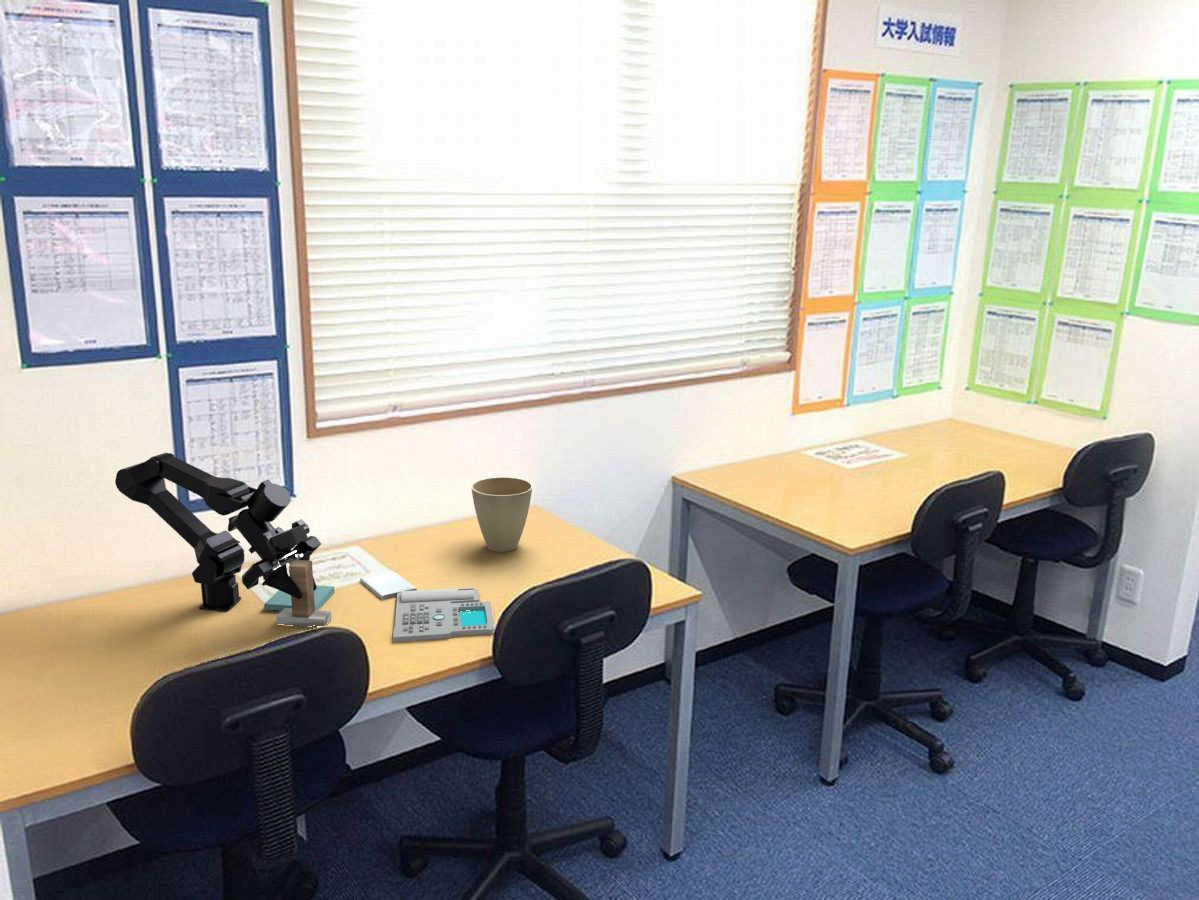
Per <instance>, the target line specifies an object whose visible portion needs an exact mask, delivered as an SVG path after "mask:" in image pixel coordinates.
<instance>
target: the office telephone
mask: <svg viewBox="0 0 1199 900" xmlns="http://www.w3.org/2000/svg"><path fill="white" fill-rule="evenodd" d="M479 590H480V589H478V588H477V589H476V588H474V587H463V588H442V589H441V588H440V589H420V590H419V589H417V590H416V591H402V592H399V593H397V597H396V606H395V607H396V608H395V617H394V618H395V619H394V628H393V633H392V634H393V635H392V641H393V643H401V642H402V643H403V642H415V641H417V642H418V641H419V642H420V641H430V640H431V641H432V640H442V639H443V640H444V639H446V640H447V639H450V638H452V637H459V636H460V637H461V636H476V635H477V636H478V635H494V634H493V631H494V632H495V625H494V624H495V623H494V616H493V609H492V607H493V606H492V603H491V601H489V600H486V601H485V600H484V601H480V591H479ZM466 610H470V611H466ZM458 611H462V612H458ZM474 611H475V612H474ZM465 612H466V613H465ZM468 612H471V613H468ZM477 613H478V614H477ZM463 614H464V615H463Z"/></svg>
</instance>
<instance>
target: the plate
mask: <svg viewBox="0 0 1199 900" xmlns="http://www.w3.org/2000/svg"><path fill="white" fill-rule="evenodd" d="M316 586H317V589H316V590H315V591H314V600H315V610H318V609H319V608H320V607H321V608H322V607H323V606H324V605H325V604H326V603H327V602H326V601H327V600H328V601H329V600H330V599H331V598H332V596H333V595H334V594H335V586H331V585H317V584H316ZM325 602H326V603H325ZM324 603H325V604H324ZM323 604H324V605H323ZM284 608H290V609H292V602H291V595H289V594H287V593H284V592H282V591H280V590H278V591H276V592H275V593H274V594H273V595H272V596H271V597H269V599H268V600H267V601H265V603H264V611H266V610H279V611H278V612H281V611H282V610H283V609H284ZM321 608H320V609H321ZM320 609H319V610H320Z"/></svg>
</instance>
